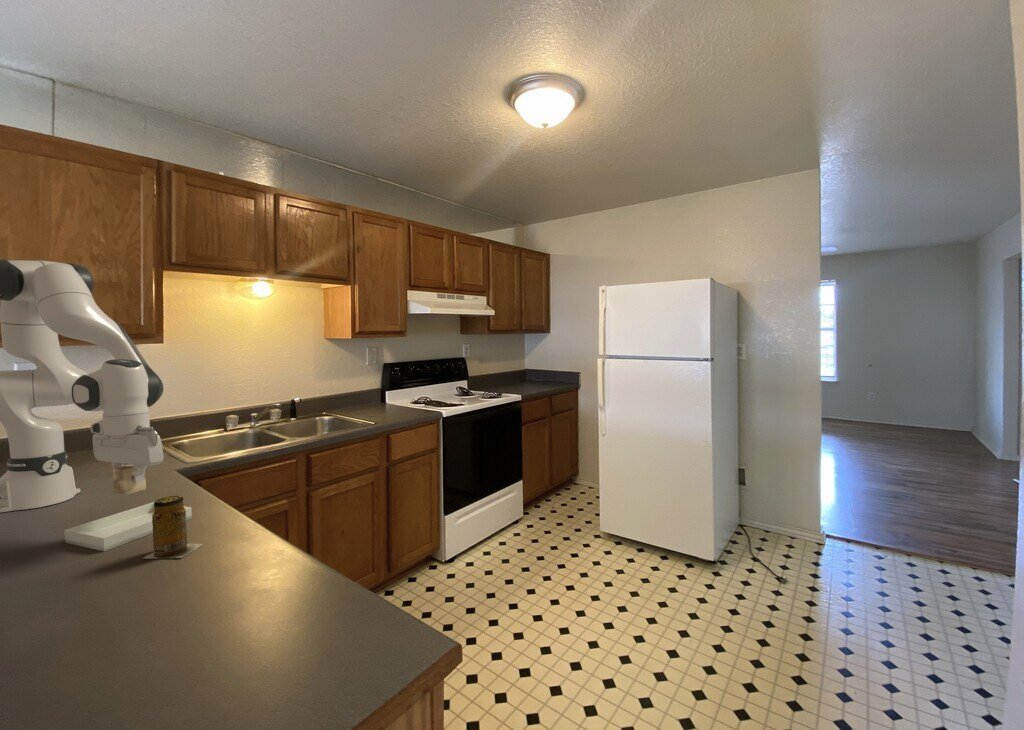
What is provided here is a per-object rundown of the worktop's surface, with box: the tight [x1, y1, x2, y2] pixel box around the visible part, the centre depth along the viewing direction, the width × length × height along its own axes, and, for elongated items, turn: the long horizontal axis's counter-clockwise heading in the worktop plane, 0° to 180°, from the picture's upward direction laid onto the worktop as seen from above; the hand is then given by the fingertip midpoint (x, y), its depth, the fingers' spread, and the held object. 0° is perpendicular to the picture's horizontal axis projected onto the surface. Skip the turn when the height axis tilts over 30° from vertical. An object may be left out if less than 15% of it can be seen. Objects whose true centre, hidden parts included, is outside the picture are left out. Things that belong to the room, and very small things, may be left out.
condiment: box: [143, 495, 204, 560], centre depth 103 cm, size 7×8×12 cm
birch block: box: [112, 464, 147, 495], centre depth 114 cm, size 4×4×6 cm
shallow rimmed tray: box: [64, 501, 193, 552], centre depth 115 cm, size 14×20×3 cm
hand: (129, 480), depth 114 cm, fingers closed on birch block, 4 cm apart
